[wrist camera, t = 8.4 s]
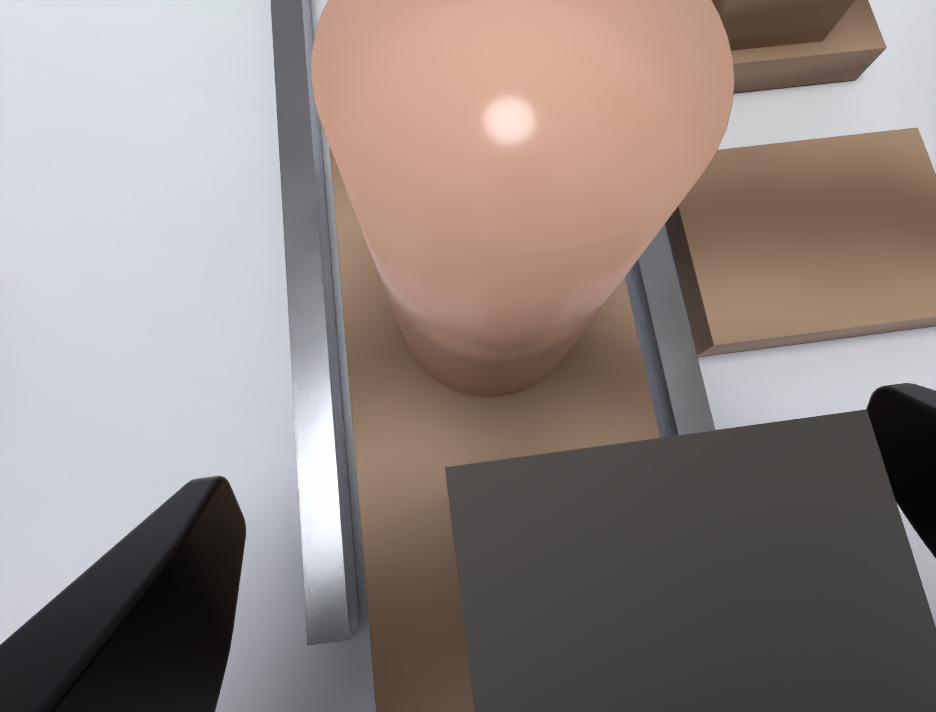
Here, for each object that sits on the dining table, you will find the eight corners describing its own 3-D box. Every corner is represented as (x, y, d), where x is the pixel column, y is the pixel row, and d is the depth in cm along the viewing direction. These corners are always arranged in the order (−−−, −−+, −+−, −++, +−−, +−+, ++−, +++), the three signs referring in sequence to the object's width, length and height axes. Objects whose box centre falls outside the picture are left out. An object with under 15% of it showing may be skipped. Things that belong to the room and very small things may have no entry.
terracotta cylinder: (507, 434, 14) (578, 342, 6) (361, 324, 15) (221, 89, 6) (611, 292, 15) (810, 27, 7) (470, 195, 16) (480, -160, 7)
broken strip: (945, 324, 17) (988, 310, 15) (693, 357, 16) (714, 345, 15) (814, -34, 20) (840, -72, 19) (602, -13, 20) (613, -50, 18)
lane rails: (725, 570, 15) (751, 578, 14) (322, 630, 14) (307, 645, 13) (577, -55, 20) (586, -94, 19) (280, -27, 20) (267, -66, 18)
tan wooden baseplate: (696, 666, 14) (1682, 1390, 3) (384, 715, 14) (11, 1795, 2) (580, 129, 18) (786, -495, 7) (335, 156, 17) (110, -459, 6)
